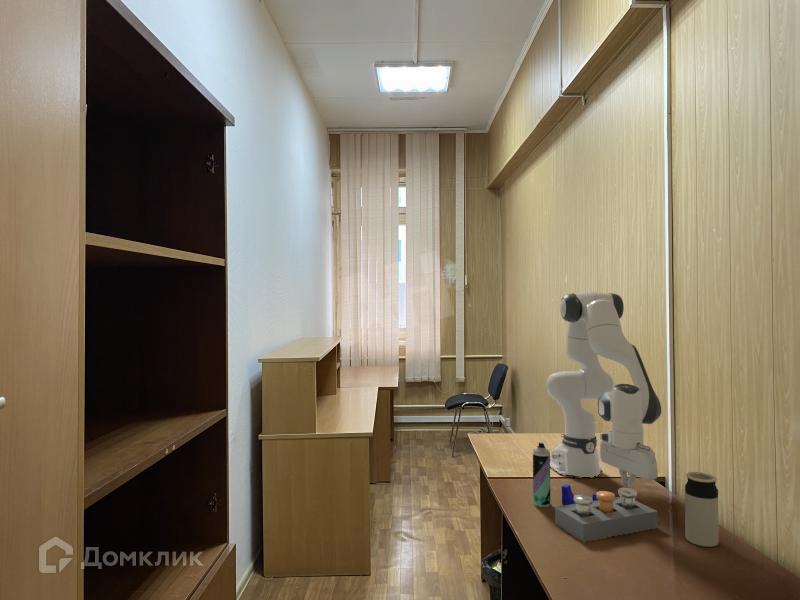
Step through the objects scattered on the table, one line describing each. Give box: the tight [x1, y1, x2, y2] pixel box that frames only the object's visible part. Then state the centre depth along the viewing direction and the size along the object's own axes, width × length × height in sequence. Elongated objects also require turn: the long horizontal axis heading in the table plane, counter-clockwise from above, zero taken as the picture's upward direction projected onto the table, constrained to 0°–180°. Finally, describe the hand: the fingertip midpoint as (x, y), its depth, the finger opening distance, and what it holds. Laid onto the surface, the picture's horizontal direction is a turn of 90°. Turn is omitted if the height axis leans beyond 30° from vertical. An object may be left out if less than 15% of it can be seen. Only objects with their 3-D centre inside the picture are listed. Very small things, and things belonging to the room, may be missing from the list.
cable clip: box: [561, 483, 598, 506], centre depth 173 cm, size 12×4×6 cm, turn 46°
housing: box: [554, 496, 659, 543], centre depth 158 cm, size 13×26×5 cm, turn 109°
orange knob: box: [595, 490, 616, 513], centre depth 158 cm, size 5×5×6 cm
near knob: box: [574, 494, 593, 517], centre depth 156 cm, size 5×5×6 cm
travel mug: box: [684, 471, 719, 548], centre depth 148 cm, size 8×8×18 cm
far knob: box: [617, 487, 638, 510], centre depth 161 cm, size 5×5×6 cm
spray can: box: [532, 442, 551, 508], centre depth 176 cm, size 6×6×20 cm
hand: (627, 485), depth 161 cm, fingers closed
